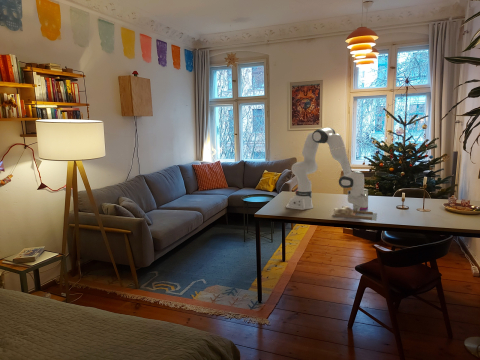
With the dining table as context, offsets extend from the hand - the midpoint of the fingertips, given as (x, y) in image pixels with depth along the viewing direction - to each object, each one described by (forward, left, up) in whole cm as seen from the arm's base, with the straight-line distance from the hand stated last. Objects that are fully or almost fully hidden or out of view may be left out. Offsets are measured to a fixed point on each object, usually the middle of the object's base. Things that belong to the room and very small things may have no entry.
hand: (357, 210), depth 252 cm
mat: (-1, 0, -4) cm, 4 cm away
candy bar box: (+1, +20, -4) cm, 21 cm away
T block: (-11, -2, -4) cm, 11 cm away
